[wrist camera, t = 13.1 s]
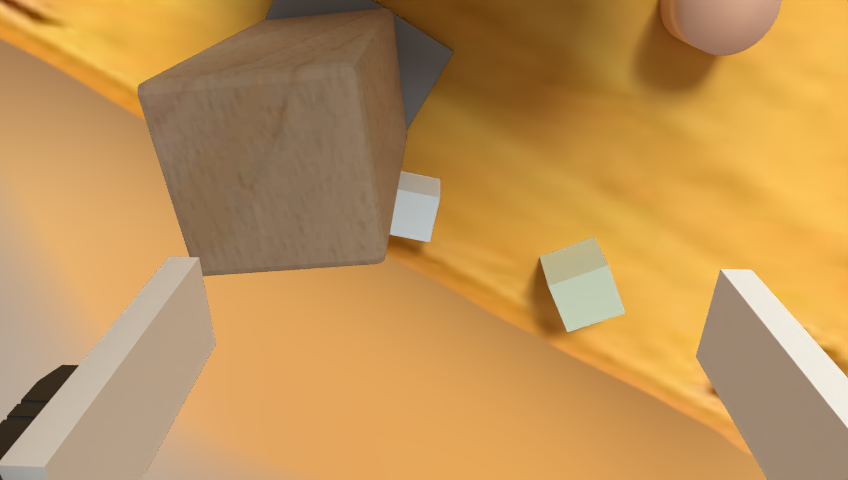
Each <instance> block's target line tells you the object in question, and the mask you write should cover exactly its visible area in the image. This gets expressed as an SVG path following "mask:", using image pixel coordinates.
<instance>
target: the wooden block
mask: <svg viewBox="0 0 848 480" xmlns="http://www.w3.org/2000/svg"><path fill="white" fill-rule="evenodd" d="M138 97H139V100H140V103H141V107H142V110H143V113H144V116H145V119H146V122H147V125H148V128H149V132H150V135H151V138H152V141H153V144H154V147H155V150H156V153H157V156H158V159H159V163H160V166H161V169H162V172H163V175H164V178H165V181H166V185H167V188H168V191H169V194H170V197H171V200H172V203H173V206H174V210H175V213H176V215H177V219H178V222H179V225H180V228H181V231H182V235H183V238H184V241H185V244H186V247H187V250H188V253H189V256H190V257H199V260H200V265H201V270H202V275H203V276H210V275H224V274H238V273H252V272H267V271H280V270H281V271H282V270H295V269H310V268H324V267H339V266H353V265H368V264H378V263H380V262H382V261H384V259H385V256H386V252H387V246H388V241H389V235H390V229H391V224H392V218H393V212H394V207H395V201H396V196H397V190H398V184H399V179H400V173H401V167H402V162H403V156H404V150H405V145H406V139H407V131H406V122H405V114H404V105H403V96H402V87H401V79H400V70H399V61H398V53H397V44H396V35H395V26H394V18H393V13H392V12H391V10H390V9H387V8H380V9H371V10H361V11H351V12H341V13H331V14H321V15H311V16H301V17H291V18H281V19H271V20H262V21H260V22H258V23H256V24H254V25H252V26H250V27H248V28H247V29H245V30H243V31H241V32H239V33H237V34H235V35H233V36H231V37H229V38H227V39H225V40H223V41H221V42H220V43H218V44H216V45H214V46H212V47H210V48H208V49H206V50H204V51H202V52H200V53H198V54H196V55H194V56H193V57H191V58H189V59H187V60H185V61H183V62H181V63H179V64H177V65H175V66H173V67H171V68H169V69H167V70H166V71H164V72H162V73H160V74H158V75H156V76H154V77H152V78H150V79H148V80H146V81H145V82H143V83H141V84H140V85H139V86H138Z"/></svg>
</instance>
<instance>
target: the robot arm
mask: <svg viewBox="0 0 848 480" xmlns="http://www.w3.org/2000/svg"><path fill="white" fill-rule="evenodd" d="M215 345H216V343H215V338H214V333H213V327H212V323H211V317H210V312H209V306H208V301H207V296H206V291H205V286H204V281H203V275H202V270H201V265H200V260H199V257H169V258H168V259H167V260H166V261H165V262H164V264H163V265H162V266H161V267H160V269H159V270H158V271H157V272H156V273H155V275H154V276H153V277H152V278H151V279H150V280H149V282H148V283H147V284H146V285H145V287H144V288H143V289H142V290H141V291H140V293H139V294H138V295H137V296H136V297H135V299H134V300H133V301H132V302H131V303H130V305H129V306H128V307H127V308H126V309H125V311H124V312H123V313H122V314H121V315H120V317H119V318H118V319H117V320H116V321H115V323H114V324H113V325H112V326H111V328H110V329H109V330H108V331H107V332H106V334H105V335H104V336H103V337H102V339H101V340H100V341H99V342H98V343H97V344H96V346H95V347H94V348H93V349H92V351H91V352H90V353H89V354H88V355H87V356H86V358H85V359H84V360H83V361H82V362H81V364H80V365H61V366H60V367H59V368H57V369H56V370H54V371H52V372H51V373H49V374H48V375H46V376H45V377H43V378H42V379H40V380H39V381H38V382H37V383H36V384H35V385H34V386H33V387H32V388H31V390H30V391H29V392H28V393H27V394H26V395H25V396H24V398H23V399H22V400H21V403H20V404H17V405H16V406H15V407H14V409H13V410H12V411H11V412H10V413H9V415H8V416H7V419H6V420H3V421H2V422H1V423H0V480H142V479H143V477H144V475H145V473H146V471H147V469H148V468H149V466H150V464H151V462H152V460H153V458H154V456H155V455H156V453H157V451H158V449H159V447H160V446H161V444H162V442H163V440H164V438H165V436H166V435H167V433H168V431H169V429H170V427H171V425H172V424H173V422H174V420H175V418H176V416H177V414H178V413H179V411H180V409H181V407H182V405H183V403H184V402H185V400H186V398H187V396H188V394H189V392H190V391H191V389H192V387H193V385H194V383H195V381H196V380H197V378H198V376H199V374H200V372H201V370H202V369H203V367H204V365H205V363H206V361H207V359H208V358H209V356H210V354H211V351H212V350H213V348H214V347H215ZM696 358H697V359H698V361H699V363H700V365H701V366H702V368H703V370H704V371H705V373H706V375H707V377H708V378H709V380H710V382H711V384H712V385H713V387H714V389H715V390H716V392H717V394H718V396H719V397H720V399H721V401H722V402H723V404H724V406H725V408H726V409H727V411H728V413H729V414H730V416H731V418H732V420H733V421H734V423H735V425H736V426H737V428H738V430H739V432H740V433H741V435H742V437H743V439H744V440H745V442H746V444H747V445H748V447H749V449H750V451H751V452H752V454H753V456H754V457H755V459H756V461H757V462H758V464H759V466H760V468H761V469H762V471H763V473H764V474H765V476H766V478H767V480H848V378H847V377H846V376H845V374H844V373H843V372H842V371H841V370H840V369H839V368H838V367H837V365H836V364H835V363H834V362H833V361H832V360H831V359H830V358H829V356H828V355H827V354H826V353H825V352H824V351H823V350H822V349H821V347H820V346H819V345H818V344H817V343H816V342H815V341H814V340H813V338H812V337H811V336H810V335H809V334H808V333H807V332H806V331H805V329H804V328H803V327H802V326H801V325H800V324H799V323H798V322H797V320H796V319H795V318H794V317H793V316H792V315H791V314H790V313H789V311H788V310H787V309H786V308H785V307H784V306H783V305H782V304H781V302H780V301H779V300H778V299H777V298H776V297H775V296H774V295H773V293H772V292H771V291H770V290H769V289H768V288H767V287H766V286H765V284H764V283H763V282H762V281H761V280H760V279H759V278H758V277H757V275H756V274H755V273H754V272H753V271H752V270H736V269H720V273H719V276H718V280H717V283H716V287H715V290H714V294H713V298H712V301H711V305H710V308H709V312H708V315H707V319H706V323H705V326H704V330H703V333H702V337H701V340H700V344H699V348H698V351H697V355H696Z"/></svg>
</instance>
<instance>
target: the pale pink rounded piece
mask: <svg viewBox="0 0 848 480" xmlns="http://www.w3.org/2000/svg"><path fill="white" fill-rule="evenodd" d="M780 5H781V0H660V15H661V19H662V22H663V24H664V26H665V28H666V29H667V30H668V32H669V33H670V34H672V35H673V36H674V37H676V38H677V39H679V40H681V41H683V42H685V43H688V44H690V45H692V46H694V47H696V48H698V49H700V50H702V51H704V52H706V53H709V54H712V55H732V54H736V53H739V52H741V51H744V50H746V49H748V48H750V47H751V46H753V45H754V44H755V43H757V42H758V41H759V40H760V39H761V38H762V37H763V36H764V35H765V34H766V33H767V32H768V31H769V29H770V28H771V26H772V25H773V23H774V21H775V19H776V17H777V15H778V12H779V9H780Z"/></svg>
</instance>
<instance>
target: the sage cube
mask: <svg viewBox="0 0 848 480" xmlns="http://www.w3.org/2000/svg"><path fill="white" fill-rule="evenodd" d="M540 260H541V263H542V267H543V270H544V274H545V277H546V280H547V284H548V287H549V289H550V292H551V294H552V297H553V299H554V301H555V304H556V306H557V308H558V311H559V313H560V316H561V318H562V320H563V323H564V325H565V328H566V330H567V332H570V331H573V330H576V329H579V328H582V327H585V326H588V325H591V324H594V323H597V322H600V321H603V320H606V319H609V318H612V317H615V316H618V315H621V314H624V313H625V310H624V307H623V304H622V302H621V299H620V296H619V293H618V291H617V288H616V285H615V282H614V279H613V277H612V274H611V271H610V268H609V265H608V263H607V261H606V259H605V257H604V255H603V253H602V251H601V249H600V247H599V245H598V243H597V241H596V239H595V237H592V238H589V239H587V240H584V241H581V242H579V243H576V244H573V245H570V246H568V247H565V248H562V249H559V250H557V251H554V252H551V253H548V254H546V255H543V256H540Z"/></svg>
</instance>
